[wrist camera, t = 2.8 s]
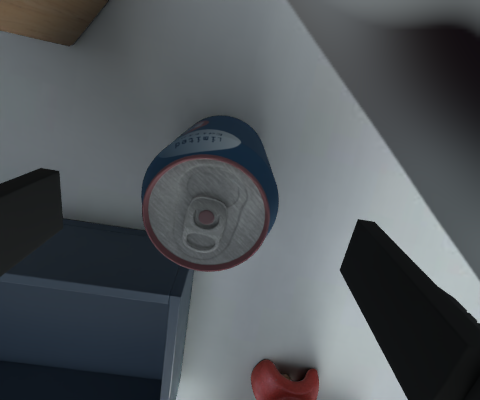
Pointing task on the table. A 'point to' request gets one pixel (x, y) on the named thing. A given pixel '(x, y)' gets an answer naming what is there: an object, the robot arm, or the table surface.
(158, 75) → the table surface
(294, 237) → the table surface
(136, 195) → the table surface
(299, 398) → the stacking toy
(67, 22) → the wooden block
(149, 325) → the bin
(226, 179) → the soda can
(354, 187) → the table surface
